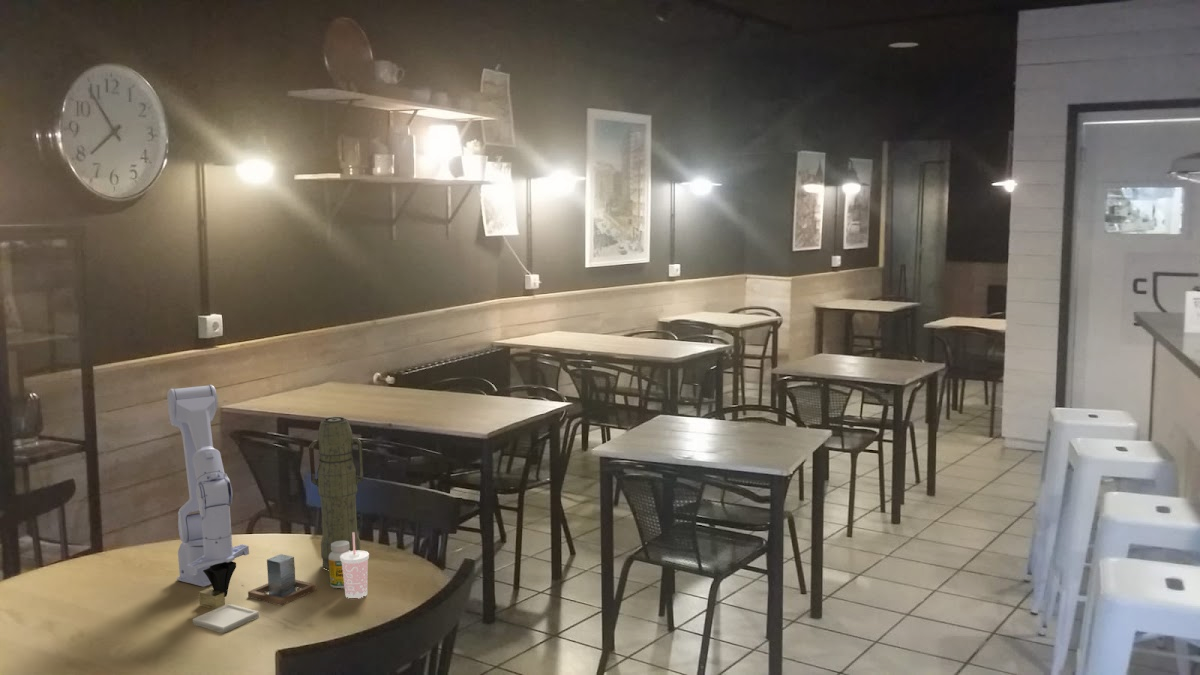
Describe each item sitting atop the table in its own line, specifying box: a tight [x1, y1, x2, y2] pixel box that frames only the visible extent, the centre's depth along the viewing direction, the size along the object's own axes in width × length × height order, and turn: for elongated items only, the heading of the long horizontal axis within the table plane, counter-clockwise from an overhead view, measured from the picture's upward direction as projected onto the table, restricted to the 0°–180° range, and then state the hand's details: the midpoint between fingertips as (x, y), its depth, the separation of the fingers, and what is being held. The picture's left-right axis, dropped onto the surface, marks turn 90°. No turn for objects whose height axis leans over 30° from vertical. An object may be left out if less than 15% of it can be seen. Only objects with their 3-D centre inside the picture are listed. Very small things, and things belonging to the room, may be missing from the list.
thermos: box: [308, 416, 364, 571], centre depth 238 cm, size 9×12×35 cm
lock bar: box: [198, 587, 226, 610], centre depth 217 cm, size 5×2×3 cm, turn 60°
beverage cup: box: [340, 532, 370, 599], centre depth 221 cm, size 6×6×14 cm
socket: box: [247, 579, 317, 606], centre depth 224 cm, size 10×10×1 cm
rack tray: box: [192, 603, 260, 634], centre depth 209 cm, size 9×9×1 cm
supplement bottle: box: [328, 541, 350, 589], centre depth 228 cm, size 5×5×10 cm
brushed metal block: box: [266, 553, 297, 598], centre depth 223 cm, size 4×4×8 cm
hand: (221, 596), depth 219 cm, fingers closed
